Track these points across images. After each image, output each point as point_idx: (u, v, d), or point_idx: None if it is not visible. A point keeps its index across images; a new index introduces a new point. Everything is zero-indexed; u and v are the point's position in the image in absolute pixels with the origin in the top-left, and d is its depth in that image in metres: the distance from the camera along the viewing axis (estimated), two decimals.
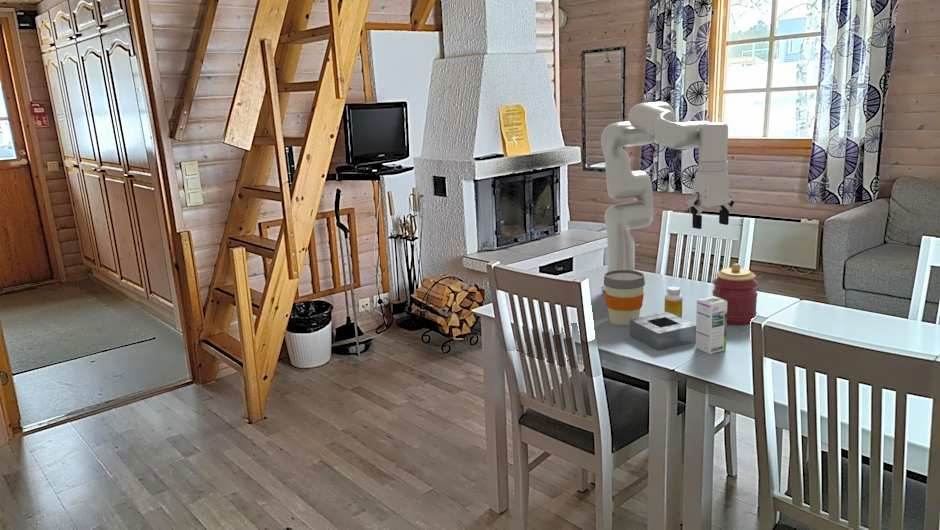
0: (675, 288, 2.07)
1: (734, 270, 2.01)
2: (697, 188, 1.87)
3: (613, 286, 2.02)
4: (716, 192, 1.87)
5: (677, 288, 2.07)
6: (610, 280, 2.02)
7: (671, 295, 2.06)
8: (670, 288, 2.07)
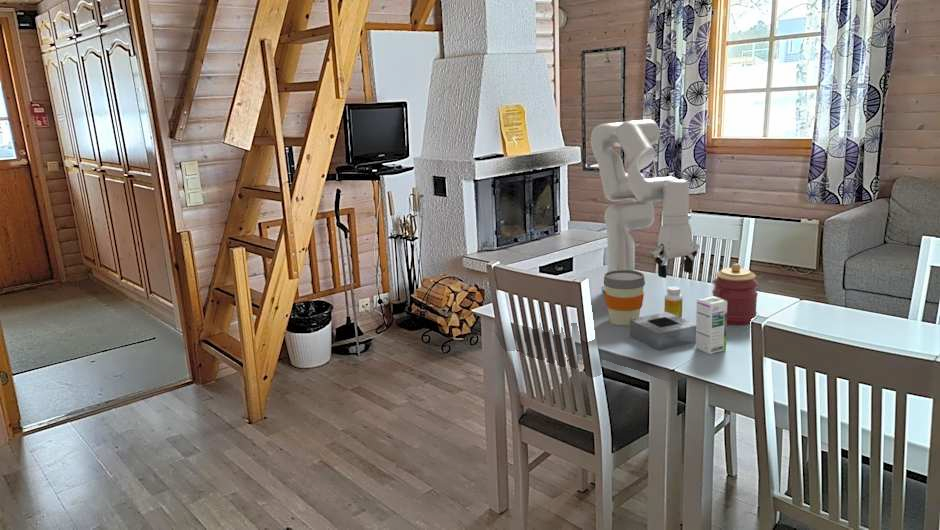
0: (675, 288, 2.07)
1: (734, 270, 2.01)
2: (662, 240, 2.01)
3: (613, 286, 2.02)
4: (679, 244, 2.01)
5: (677, 288, 2.07)
6: (610, 280, 2.02)
7: (671, 295, 2.06)
8: (670, 288, 2.07)
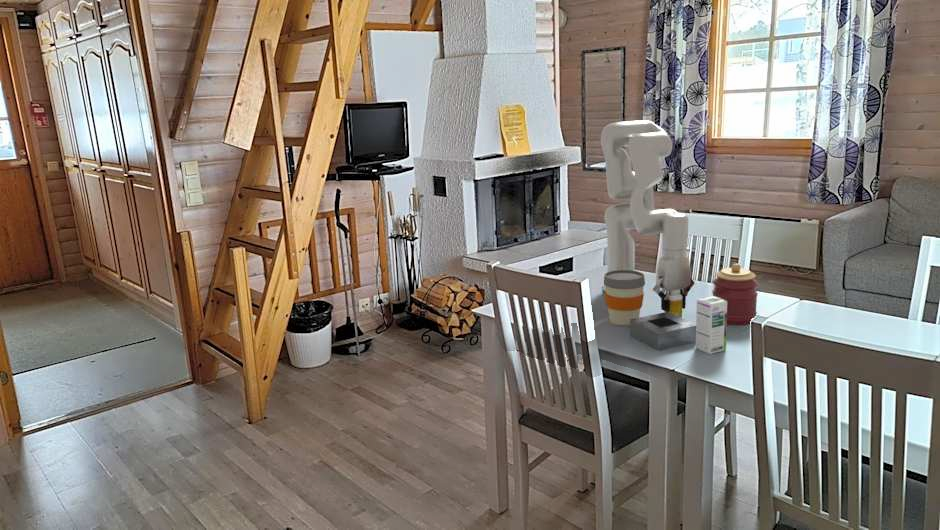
0: None
1: (734, 270, 2.01)
2: (661, 273, 2.04)
3: (613, 286, 2.02)
4: (678, 276, 2.04)
5: None
6: (610, 280, 2.02)
7: (671, 295, 2.06)
8: None
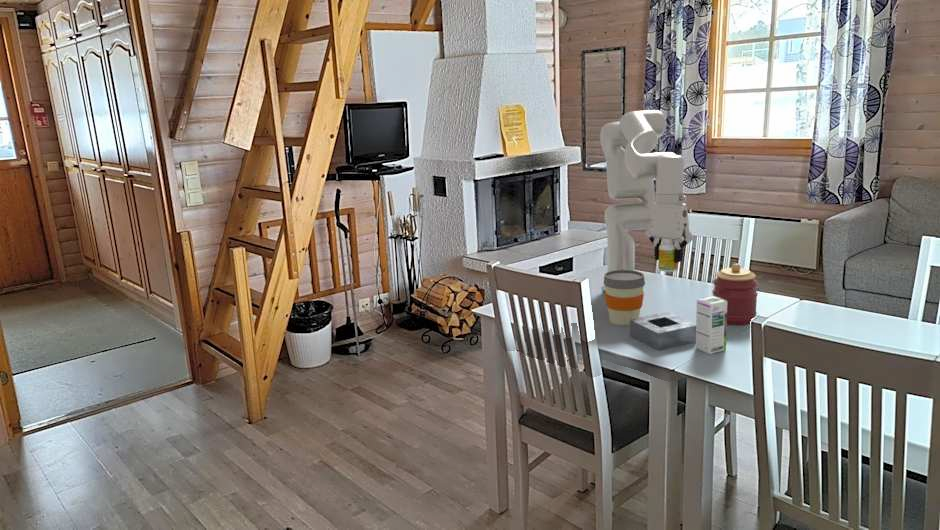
0: None
1: (734, 270, 2.01)
2: None
3: (613, 286, 2.02)
4: (663, 224, 1.89)
5: None
6: (610, 280, 2.02)
7: (662, 243, 1.92)
8: None
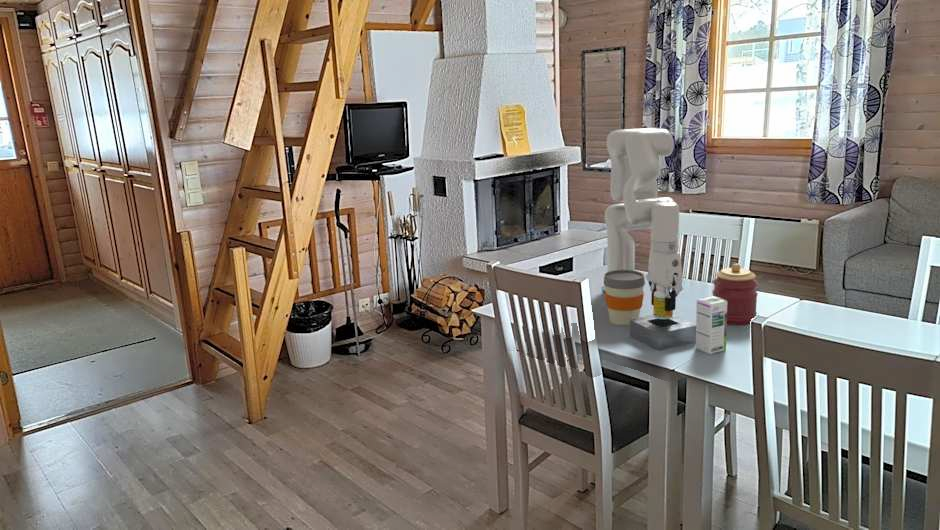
0: None
1: (734, 270, 2.01)
2: None
3: (613, 286, 2.02)
4: (655, 270, 1.87)
5: None
6: (610, 280, 2.02)
7: None
8: None
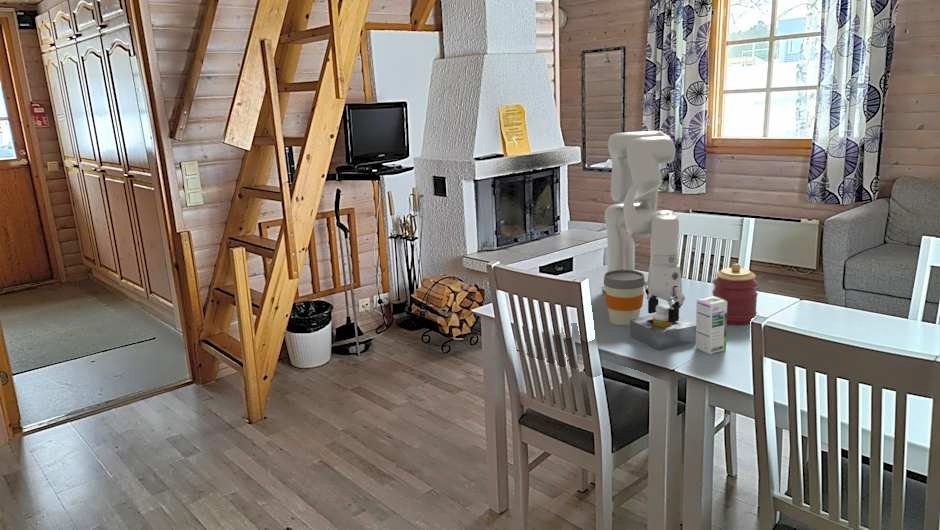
0: (662, 307, 1.90)
1: (734, 270, 2.01)
2: None
3: (613, 286, 2.02)
4: (655, 283, 1.88)
5: (662, 307, 1.90)
6: (610, 280, 2.02)
7: (657, 311, 1.92)
8: (661, 305, 1.92)
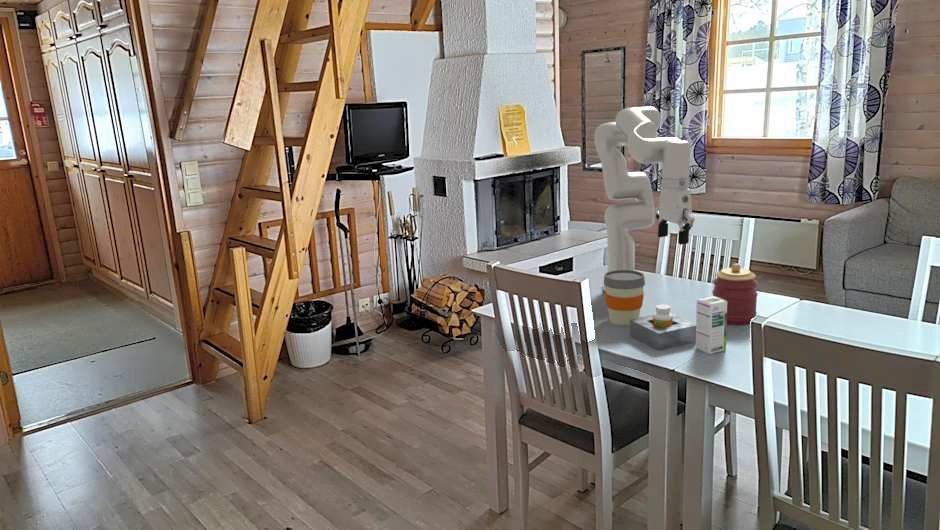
0: (662, 307, 1.90)
1: (734, 270, 2.01)
2: None
3: (613, 286, 2.02)
4: (666, 207, 1.95)
5: (662, 307, 1.90)
6: (610, 280, 2.02)
7: (657, 311, 1.92)
8: (661, 305, 1.92)
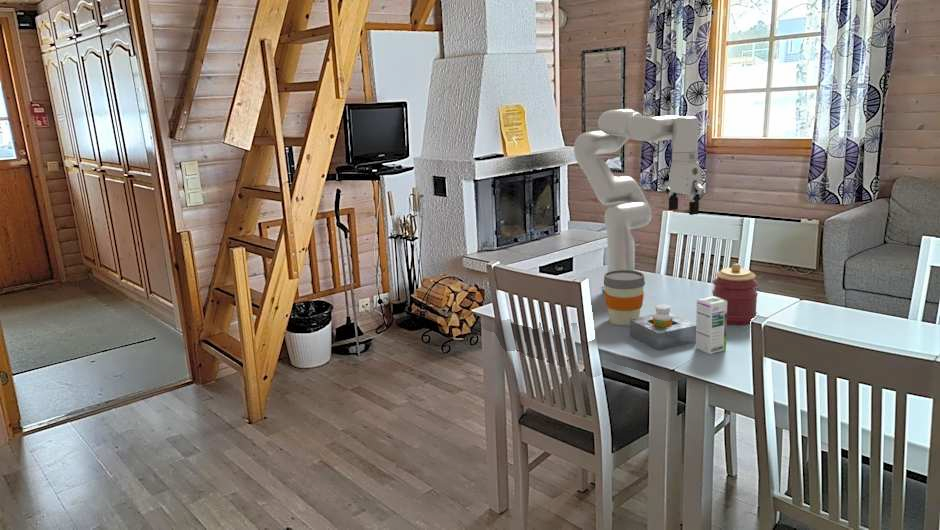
0: (662, 307, 1.90)
1: (734, 270, 2.01)
2: None
3: (613, 286, 2.02)
4: (676, 180, 2.05)
5: (662, 307, 1.90)
6: (610, 280, 2.02)
7: None
8: (661, 305, 1.92)
